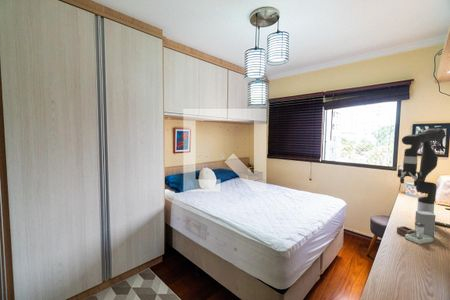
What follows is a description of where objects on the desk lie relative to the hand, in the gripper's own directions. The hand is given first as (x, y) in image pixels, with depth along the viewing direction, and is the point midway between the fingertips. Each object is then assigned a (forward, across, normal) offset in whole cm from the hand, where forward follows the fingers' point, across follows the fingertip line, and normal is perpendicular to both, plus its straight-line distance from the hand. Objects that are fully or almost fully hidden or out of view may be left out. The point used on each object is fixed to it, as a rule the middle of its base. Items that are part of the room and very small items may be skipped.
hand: (408, 184), depth 149 cm
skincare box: (+33, -10, -2) cm, 35 cm away
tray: (+33, -14, +10) cm, 38 cm away
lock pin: (+32, -14, +10) cm, 37 cm away
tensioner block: (+33, -6, +10) cm, 35 cm away
